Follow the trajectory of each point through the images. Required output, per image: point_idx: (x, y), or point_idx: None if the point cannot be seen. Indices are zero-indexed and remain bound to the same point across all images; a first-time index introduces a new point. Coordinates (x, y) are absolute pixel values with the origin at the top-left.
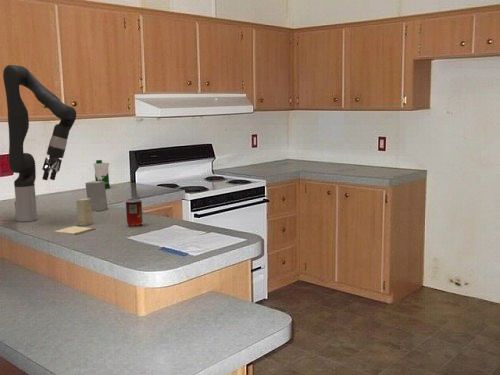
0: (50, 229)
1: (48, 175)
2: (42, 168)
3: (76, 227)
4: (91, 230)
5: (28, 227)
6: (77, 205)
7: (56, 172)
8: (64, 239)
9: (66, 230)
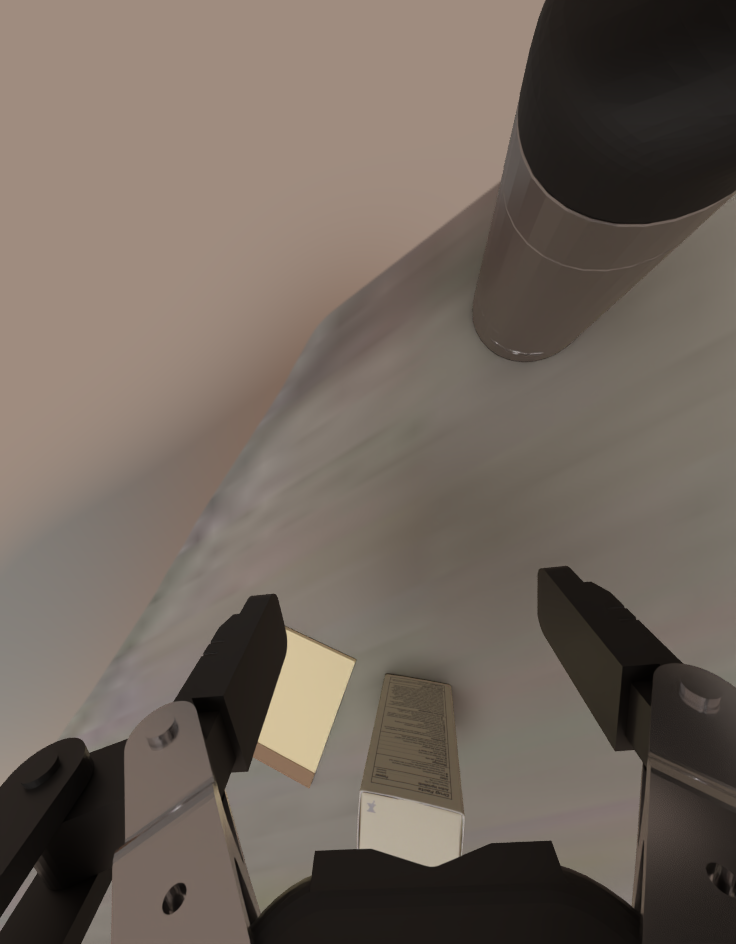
0: (304, 567)
1: (258, 718)
2: (8, 778)
3: (328, 688)
4: (288, 771)
5: (341, 433)
6: (366, 762)
7: (643, 765)
8: (144, 707)
9: None
